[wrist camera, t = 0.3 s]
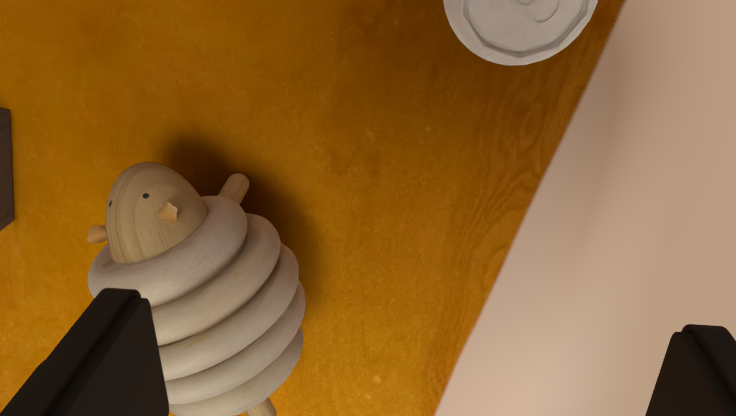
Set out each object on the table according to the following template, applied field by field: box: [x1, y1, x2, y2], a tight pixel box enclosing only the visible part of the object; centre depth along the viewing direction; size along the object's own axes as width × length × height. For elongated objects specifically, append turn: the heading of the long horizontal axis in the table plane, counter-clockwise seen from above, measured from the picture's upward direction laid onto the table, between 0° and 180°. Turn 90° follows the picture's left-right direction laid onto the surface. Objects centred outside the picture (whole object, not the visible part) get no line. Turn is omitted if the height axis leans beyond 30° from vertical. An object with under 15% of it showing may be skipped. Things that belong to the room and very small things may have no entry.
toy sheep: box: [87, 162, 306, 416], centre depth 32 cm, size 11×17×11 cm, turn 23°
